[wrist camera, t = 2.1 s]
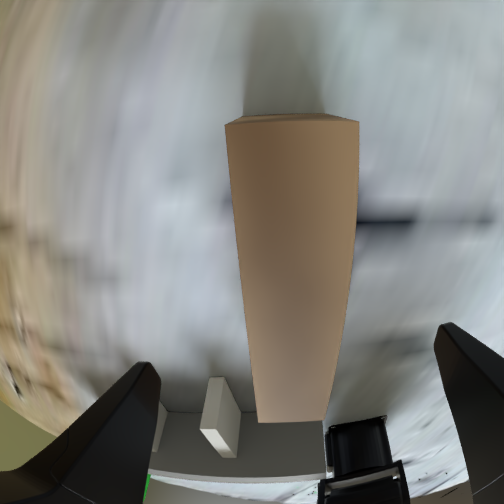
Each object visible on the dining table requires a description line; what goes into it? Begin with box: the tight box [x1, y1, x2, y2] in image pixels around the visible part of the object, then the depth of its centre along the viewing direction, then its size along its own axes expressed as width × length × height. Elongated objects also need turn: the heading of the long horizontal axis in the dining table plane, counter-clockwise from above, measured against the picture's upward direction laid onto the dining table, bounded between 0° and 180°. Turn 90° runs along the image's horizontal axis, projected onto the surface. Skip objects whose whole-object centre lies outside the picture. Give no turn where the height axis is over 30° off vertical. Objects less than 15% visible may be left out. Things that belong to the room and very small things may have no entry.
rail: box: [225, 114, 359, 423], centre depth 14 cm, size 4×16×6 cm, turn 4°
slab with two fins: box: [148, 377, 326, 483], centre depth 22 cm, size 24×8×7 cm, turn 102°
